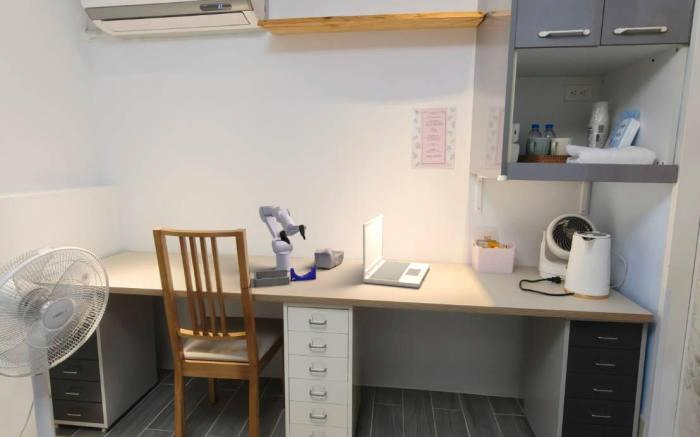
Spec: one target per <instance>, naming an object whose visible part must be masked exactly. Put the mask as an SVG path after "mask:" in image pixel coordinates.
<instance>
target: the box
mask: <svg viewBox="0 0 700 437" xmlns="http://www.w3.org/2000/svg"><path fill="white" fill-rule="evenodd" d="M286 276H287V277H286ZM271 277H274V278H271ZM256 278H261V279H256ZM290 283H291V280H290V276H288V271H287V269H282V270H276V269H271V270H270V269H269V270H258V271H257V270H256V271H255V270H254V271H253V285H254V288H260V287H259V286H264V287H272V286H273V287H274V286H275V285H277V286H287V285H288V286H289V285H290Z"/></svg>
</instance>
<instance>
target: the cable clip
mask: <svg viewBox="0 0 700 437" xmlns="http://www.w3.org/2000/svg"><path fill="white" fill-rule="evenodd" d="M289 275H290V276H289V279H290V282H291V281H293V282H302V281H315V280H317V267H316V266H315V265H314V266H311V270H310V271H308V272H307V273H305V274H302V275H298V274H297V273H296V271H295V268H294V267H291V268H290V271H289Z"/></svg>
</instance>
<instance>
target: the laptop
mask: <svg viewBox="0 0 700 437" xmlns="http://www.w3.org/2000/svg"><path fill="white" fill-rule="evenodd" d="M430 266H431V263H419V262H418V263H417V262H408V261H406V262H405V261H395V260H394V261H393V260H384V213H381V214H380V215H379V216H377V217H375V218H372V219H371V220H369V221H367V222H366V223H363V224H362V282H363V283H364V284H375V285H384V286H395V287H402V288H403V287H405V288H406V287H407V288H414V289H415V288H416V289H420V288H419V287H420V285H421V284H422V283H423V280H424V279H425V276H426V274H427V273H428V271H429V269H430Z"/></svg>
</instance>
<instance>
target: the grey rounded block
mask: <svg viewBox="0 0 700 437" xmlns="http://www.w3.org/2000/svg"><path fill="white" fill-rule="evenodd" d="M344 254H345V251H342V250H335V249H333V248H330V247H329V248H328V247H327V248H322V249H321V248H317V249H316V250H315V251H314V263H315V265H316V266H315V267H316V268H324V269H328V270H329V269H332V268H334V267H337V266H340V264H342V263H343V261H344V258H345V257H344Z"/></svg>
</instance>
